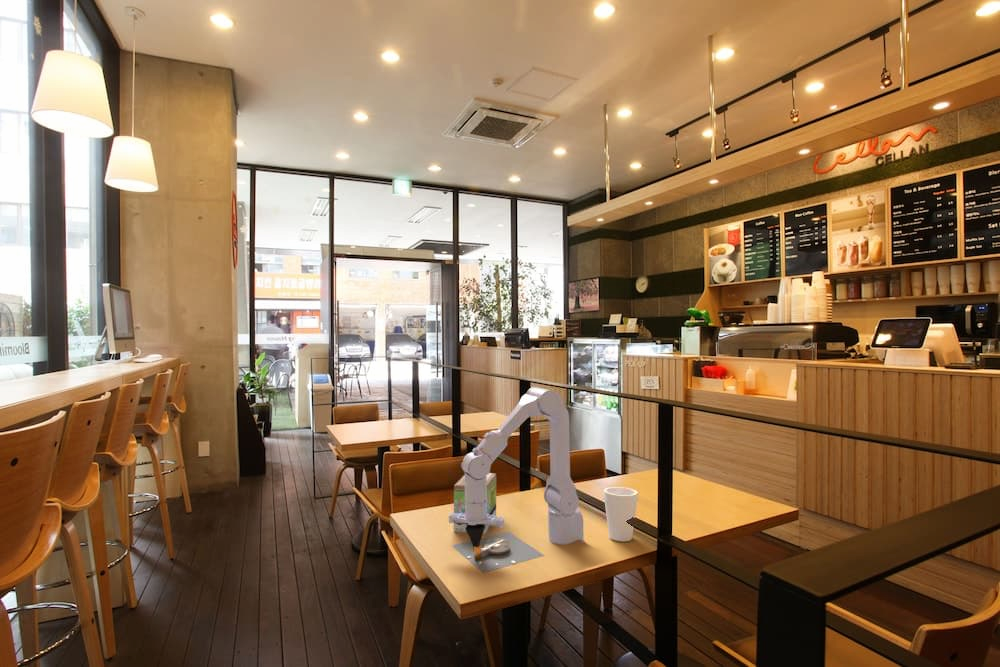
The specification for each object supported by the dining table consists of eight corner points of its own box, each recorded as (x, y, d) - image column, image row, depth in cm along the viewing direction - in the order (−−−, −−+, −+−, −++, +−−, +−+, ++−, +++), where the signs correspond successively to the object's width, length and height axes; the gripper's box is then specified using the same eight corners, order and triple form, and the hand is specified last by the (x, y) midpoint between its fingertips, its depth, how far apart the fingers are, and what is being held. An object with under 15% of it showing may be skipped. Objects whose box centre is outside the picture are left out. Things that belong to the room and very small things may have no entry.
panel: (508, 535, 149) (508, 530, 149) (544, 559, 133) (544, 554, 133) (452, 549, 140) (451, 544, 140) (483, 577, 124) (483, 571, 124)
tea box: (486, 538, 147) (485, 486, 147) (452, 535, 150) (452, 485, 149) (497, 518, 162) (496, 472, 162) (466, 516, 164) (465, 470, 164)
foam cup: (628, 530, 152) (628, 486, 152) (643, 542, 143) (643, 494, 143) (598, 532, 150) (598, 487, 150) (612, 544, 141) (612, 496, 141)
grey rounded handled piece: (496, 541, 141) (496, 530, 141) (515, 548, 137) (515, 537, 137) (465, 555, 133) (465, 543, 133) (484, 563, 128) (484, 551, 128)
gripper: (444, 502, 131) (444, 555, 132) (498, 507, 128) (499, 561, 128) (453, 493, 138) (454, 543, 139) (506, 498, 134) (506, 549, 135)
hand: (476, 551), depth 134 cm, fingers closed, pressing on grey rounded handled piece
